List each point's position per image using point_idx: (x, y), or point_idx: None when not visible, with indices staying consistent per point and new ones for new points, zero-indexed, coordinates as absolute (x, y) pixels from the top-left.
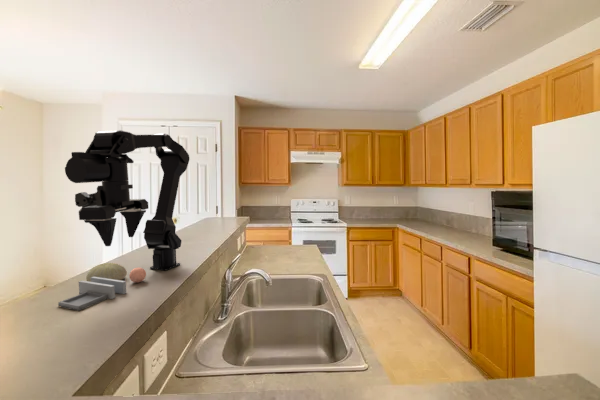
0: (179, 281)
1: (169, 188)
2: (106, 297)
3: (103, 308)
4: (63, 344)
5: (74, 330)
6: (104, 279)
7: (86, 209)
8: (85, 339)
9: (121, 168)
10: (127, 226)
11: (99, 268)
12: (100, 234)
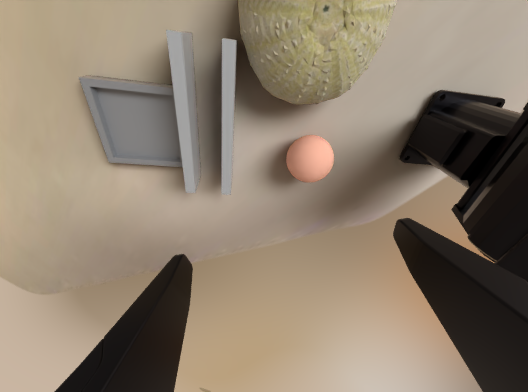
0: (314, 228)
1: None
2: None
3: (152, 194)
4: (50, 235)
5: (76, 216)
6: (222, 123)
7: None
8: (79, 247)
9: None
10: (466, 283)
11: (283, 22)
12: (111, 337)
